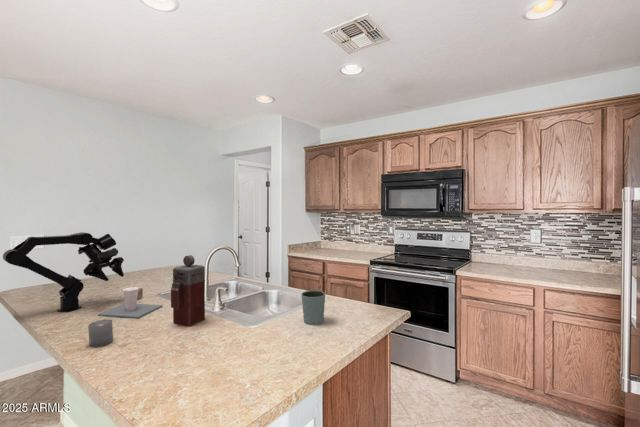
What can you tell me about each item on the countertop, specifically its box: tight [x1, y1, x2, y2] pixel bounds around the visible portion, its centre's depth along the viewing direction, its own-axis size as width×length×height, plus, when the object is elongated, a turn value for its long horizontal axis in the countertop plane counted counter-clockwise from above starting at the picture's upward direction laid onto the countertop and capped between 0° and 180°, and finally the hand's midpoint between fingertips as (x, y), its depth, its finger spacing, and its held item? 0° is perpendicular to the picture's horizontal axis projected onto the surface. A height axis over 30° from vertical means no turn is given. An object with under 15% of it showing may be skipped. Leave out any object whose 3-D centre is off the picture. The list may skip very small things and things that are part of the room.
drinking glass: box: [300, 290, 326, 326], centre depth 134 cm, size 10×10×12 cm
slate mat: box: [97, 302, 163, 320], centre depth 145 cm, size 20×16×1 cm
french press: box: [170, 254, 206, 327], centre depth 132 cm, size 9×11×28 cm
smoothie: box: [122, 279, 140, 311], centre depth 145 cm, size 6×6×14 cm
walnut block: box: [137, 287, 144, 301], centre depth 164 cm, size 5×5×5 cm
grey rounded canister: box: [87, 318, 114, 348], centre depth 112 cm, size 7×7×7 cm
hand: (115, 278), depth 152 cm, fingers open, 9 cm apart
